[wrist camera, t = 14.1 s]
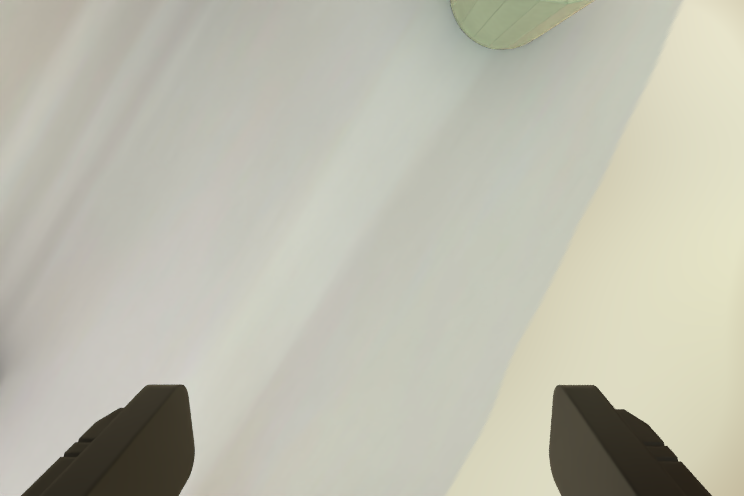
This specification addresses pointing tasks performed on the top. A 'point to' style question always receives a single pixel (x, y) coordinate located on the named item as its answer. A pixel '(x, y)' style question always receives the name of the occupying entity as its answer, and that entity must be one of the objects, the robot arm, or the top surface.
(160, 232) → the top surface
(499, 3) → the tumbler
